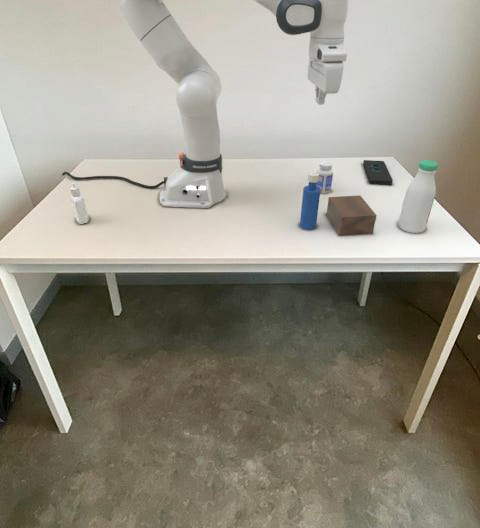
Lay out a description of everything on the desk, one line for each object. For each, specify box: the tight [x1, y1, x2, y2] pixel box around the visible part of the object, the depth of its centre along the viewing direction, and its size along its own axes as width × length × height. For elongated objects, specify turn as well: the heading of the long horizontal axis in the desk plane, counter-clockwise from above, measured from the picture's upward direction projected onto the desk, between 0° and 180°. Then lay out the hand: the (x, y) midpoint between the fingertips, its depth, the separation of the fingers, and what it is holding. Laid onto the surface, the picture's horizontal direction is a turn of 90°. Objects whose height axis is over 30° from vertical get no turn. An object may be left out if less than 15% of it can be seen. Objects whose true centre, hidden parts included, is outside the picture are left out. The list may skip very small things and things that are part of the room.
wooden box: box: [326, 195, 377, 236], centre depth 120 cm, size 10×13×6 cm
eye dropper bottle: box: [69, 182, 89, 225], centre depth 120 cm, size 4×6×12 cm
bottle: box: [299, 171, 321, 231], centre depth 117 cm, size 14×5×15 cm
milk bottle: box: [397, 159, 439, 234], centre depth 115 cm, size 8×8×20 cm
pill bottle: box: [316, 161, 334, 194], centre depth 139 cm, size 5×5×10 cm
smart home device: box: [362, 159, 394, 186], centre depth 153 cm, size 8×2×20 cm
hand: (319, 103), depth 117 cm, fingers closed
